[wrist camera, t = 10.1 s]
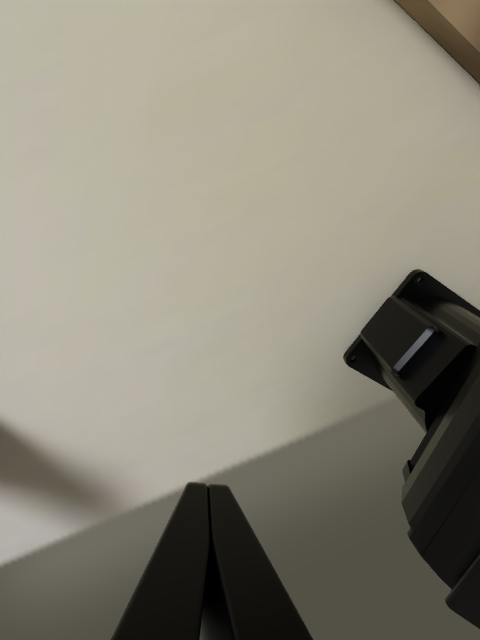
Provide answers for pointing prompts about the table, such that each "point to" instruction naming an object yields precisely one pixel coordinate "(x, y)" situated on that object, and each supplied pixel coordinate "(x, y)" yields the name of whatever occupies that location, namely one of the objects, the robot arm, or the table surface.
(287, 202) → the table surface
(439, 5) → the brown cutting board
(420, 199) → the table surface
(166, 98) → the table surface
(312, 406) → the table surface
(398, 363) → the robot arm
